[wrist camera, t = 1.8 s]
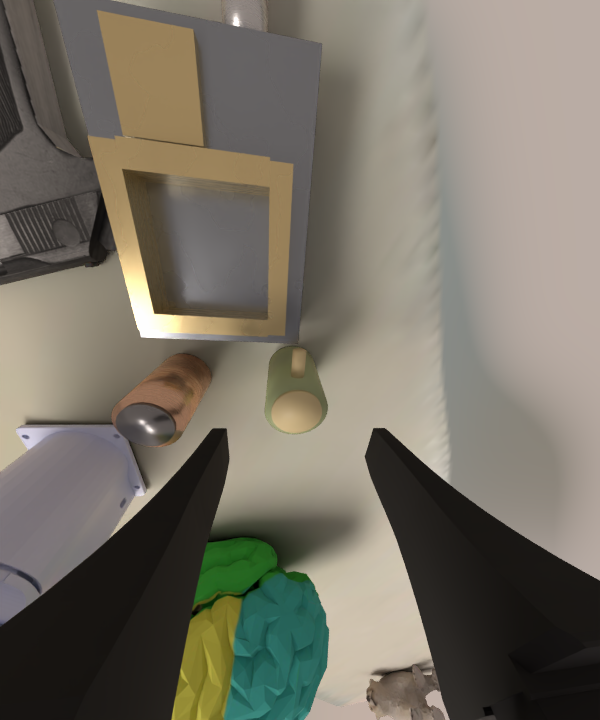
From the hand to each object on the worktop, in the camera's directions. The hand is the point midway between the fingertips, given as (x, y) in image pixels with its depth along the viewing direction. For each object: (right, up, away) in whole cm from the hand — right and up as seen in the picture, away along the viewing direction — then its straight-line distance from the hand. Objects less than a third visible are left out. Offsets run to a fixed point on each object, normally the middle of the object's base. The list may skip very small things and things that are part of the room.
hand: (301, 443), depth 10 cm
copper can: (-9, +3, +7) cm, 12 cm away
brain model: (-9, -25, +21) cm, 34 cm away
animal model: (+34, -105, +64) cm, 128 cm away
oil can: (-1, +3, +7) cm, 8 cm away
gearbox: (-4, +13, +2) cm, 14 cm away
